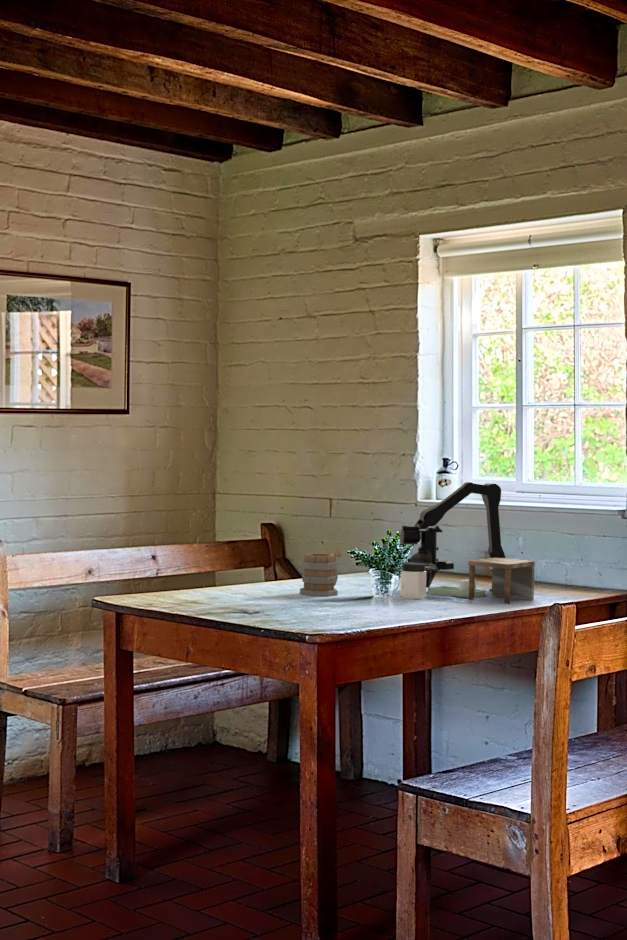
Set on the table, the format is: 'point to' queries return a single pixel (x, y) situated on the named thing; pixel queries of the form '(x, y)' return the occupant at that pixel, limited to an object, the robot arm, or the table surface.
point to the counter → (506, 578)
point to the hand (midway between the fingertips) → (427, 587)
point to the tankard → (320, 574)
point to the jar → (413, 580)
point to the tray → (457, 590)
